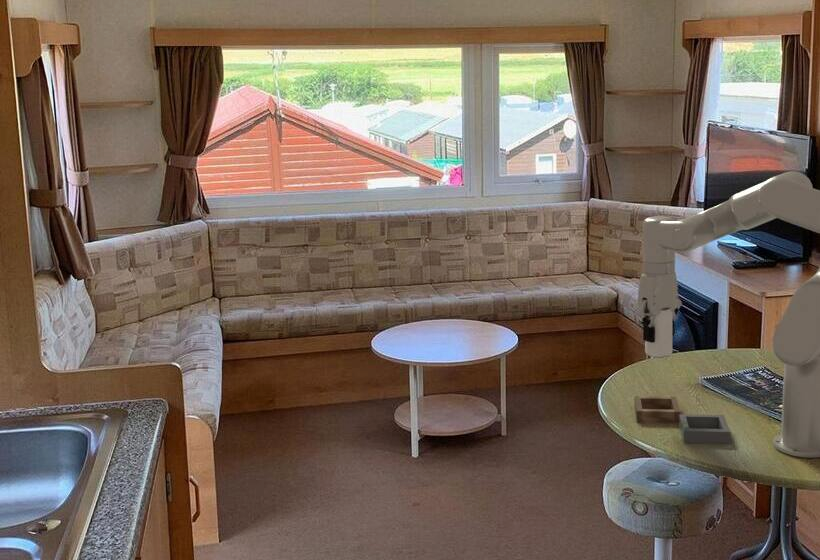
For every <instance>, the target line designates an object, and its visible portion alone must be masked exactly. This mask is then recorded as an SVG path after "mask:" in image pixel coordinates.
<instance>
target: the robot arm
mask: <svg viewBox="0 0 820 560" xmlns="http://www.w3.org/2000/svg"><path fill="white" fill-rule="evenodd" d="M775 219H780V220H782V221H784V222H787V223H790V224H792V225H796V226H798V227H801V228H804V229H806V230H808V231H809V230H810V231H812V232H815V233H818V234H820V189H816V188H813V184H812V182H811V179H810V178H809V177H807V175H806V174H804V173H802V172H799V171H792V170H791V171H787V172H783V173H781V174H778V175H775V176H771V177H770V178H769V179H767V180H765V181H763V182H760V183H758V184H756V185H753V186H751V187H749V188H746V189H744V190H741V191H740V192H736V193H735V194H733V195H732V196H730V198H729V199H728V200H726V201H724V202H721V203H719V204H718V205H715V206H713V207H710V208H708V209H706V210H704V211H701V212H699V213H696V214H693V215H690V216H687V217H685V218H683V219H679V220H674V218H672V217H669V216H664V215H655V216H649V217H647V218H645V219H644V220H643V222H642V274H640V278H639V282H638V289H637V291H638V292H637V309H636V311H635V313H634V315H635V318H637V319H638V322H640V325H641V326H642V337H643V338H642V339H643V341H644V342H645V341H647V342H651V343H653V342H655V327H653V323H654V320H655V316H656V315H658V314H660V312H661V310H667V309H669V308H670V310H671V312H672V337H674V336H675V321H676V320H677V315H678V314H679V309H680V308H681V306H682V305H683V302H682V300H681V299H680V298H679V288H678V287H679V285H678V279H677V278H678V277H677V273H676V252H680V253H687V252H691V251H693V250H696V249H698V248H700V247H702V246H705V245H707V244H710V243H711V242H714V241H716V240H719V239H721V238H724V237H726V236H729V235H732V234H734V233H736V232H739V231H748V230H750V229H753V228H756V227H758V226H760V225H763V224H765V223H768V222H770V221H773V220H775ZM648 311H650V313H648ZM648 316H650V320H648V319H647V318H648ZM771 347H772V350H773V353H774V355H775V356H776V358H777V359H778V360H779V362H781V363H782V364H784V371H783V379H782V380H783V381H782V386H783V387H782V407H781V427H780V428H781V429H780V430H781V431H780V433H779V434H777V435H776V436H774V438H773V441H772V442H773V443H772V444H773V446H774V447H775V449H777V450H778V451H780V453H784V454H787V455H790V456H793V457H796V458H797V457H798V458H806V459H807V458H808V459H810V458H811V459H813V458H814V459H815V458H820V267H819V268H818V270H817V271H816V272H815V274H814V275H813V276H811V277H810V278H809V279H807V280H806V281H804V282H803V283H802V284H800V285H799V287H798V288H797V289H796V290H795V292H794V293H793V295H792V296H791V299H790V300H789V302H788V304H787V306H786V309H785V310H784V312H783V315H782V316H781V319H780V320H779V322H778V324H777V325H776V329H775V331H774V333H773V336H772V341H771Z"/></svg>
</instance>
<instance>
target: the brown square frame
mask: <svg viewBox="0 0 820 560" xmlns="http://www.w3.org/2000/svg"><path fill="white" fill-rule="evenodd" d="M633 407H634V413H635V421H636V423H645V424H646V423H647V424H649V423H650V424H651V423H654V424H679V414H681V409H680V405H679V402H678V398H677V396H657V395H656V396H652V395H651V396H649V395H647V396H646V395H645V396H644V395H643V396H641V395H635V396H634V406H633Z"/></svg>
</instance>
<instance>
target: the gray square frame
mask: <svg viewBox="0 0 820 560" xmlns="http://www.w3.org/2000/svg"><path fill="white" fill-rule="evenodd" d="M678 427H679V430H680V431H679V432H680V434H681V438H682V442H683V444H709V445H710V444H712V445H713V444H714V445H716V444H718V445H730V444H731V430H730V428H729V425H728V423H727V420H726V417H725V415H724V414H692V413H691V414H683V413H682V414H681V413H680V414H679V423H678Z"/></svg>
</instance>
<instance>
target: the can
mask: <svg viewBox="0 0 820 560" xmlns="http://www.w3.org/2000/svg"><path fill="white" fill-rule="evenodd" d="M648 313H650V311H648ZM647 319H648V320H650V316H648V318H647ZM653 327H655V342H653V343H651V342H647V341H644V342H645V343H644V344H645V345H644V347H645V354H646V355H647V356H648V357H650V358H651V357H652V358H656V359H657V358H658V359H662V358H664V359H665V358H667V357H668V358H669V357H670V356H671V355H672V354H673V336H672V312H671V310H670V308H669V309H667V310H661V312H660V314H658V315H656V316H655V320H654V323H653Z"/></svg>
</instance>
